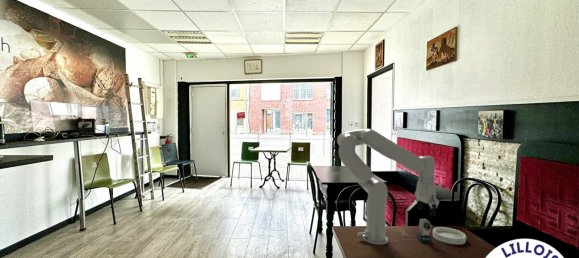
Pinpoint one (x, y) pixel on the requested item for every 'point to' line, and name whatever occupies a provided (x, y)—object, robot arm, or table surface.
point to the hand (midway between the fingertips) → (426, 212)
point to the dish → (449, 235)
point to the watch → (424, 231)
